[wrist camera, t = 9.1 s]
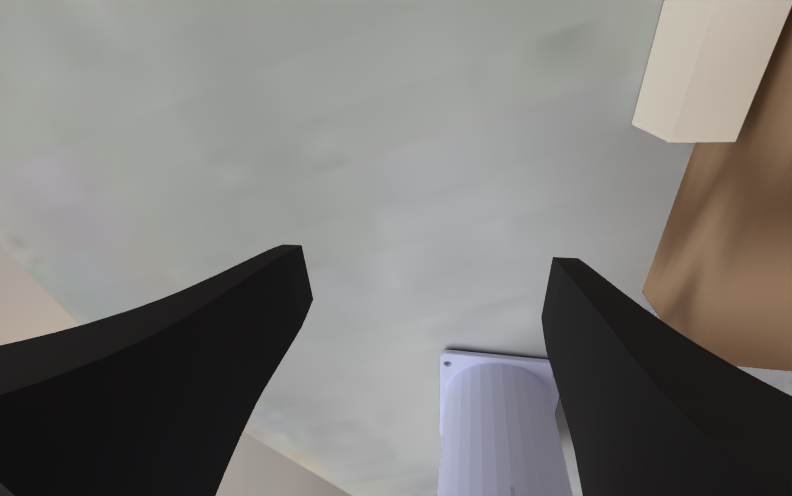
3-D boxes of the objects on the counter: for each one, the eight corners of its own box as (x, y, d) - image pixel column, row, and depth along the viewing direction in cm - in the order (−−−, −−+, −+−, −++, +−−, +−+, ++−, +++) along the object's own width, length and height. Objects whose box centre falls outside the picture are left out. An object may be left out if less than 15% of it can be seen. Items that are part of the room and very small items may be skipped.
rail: (725, 297, 18) (802, 372, 14) (642, 292, 19) (690, 361, 15) (896, -38, 12) (1142, -88, 7) (755, -25, 12) (904, -65, 8)
